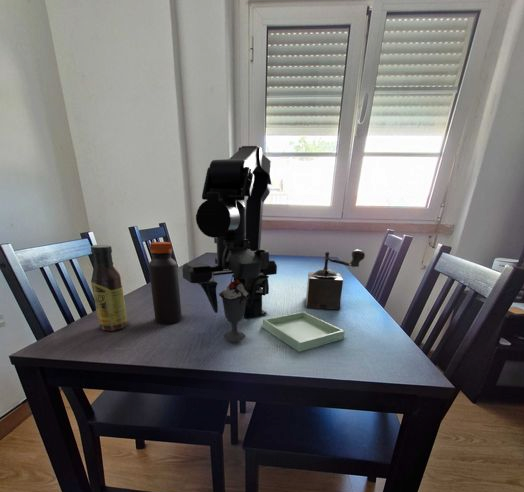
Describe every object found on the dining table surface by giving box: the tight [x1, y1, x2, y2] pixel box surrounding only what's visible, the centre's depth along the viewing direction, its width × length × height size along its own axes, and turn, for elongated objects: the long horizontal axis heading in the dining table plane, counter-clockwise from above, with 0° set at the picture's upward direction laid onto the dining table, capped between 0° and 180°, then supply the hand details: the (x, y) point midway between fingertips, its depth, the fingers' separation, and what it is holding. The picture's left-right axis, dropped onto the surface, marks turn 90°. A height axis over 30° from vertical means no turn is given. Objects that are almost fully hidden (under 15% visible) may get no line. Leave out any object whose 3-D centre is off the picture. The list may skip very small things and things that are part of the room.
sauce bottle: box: [90, 244, 128, 332], centre depth 66 cm, size 7×6×20 cm
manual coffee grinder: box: [305, 249, 366, 310], centre depth 87 cm, size 16×11×18 cm
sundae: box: [218, 274, 250, 342], centre depth 61 cm, size 7×7×15 cm
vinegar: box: [148, 241, 183, 325], centre depth 72 cm, size 7×7×20 cm
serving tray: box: [262, 311, 346, 353], centre depth 69 cm, size 15×13×2 cm
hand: (232, 309), depth 60 cm, fingers closed on sundae, 7 cm apart
